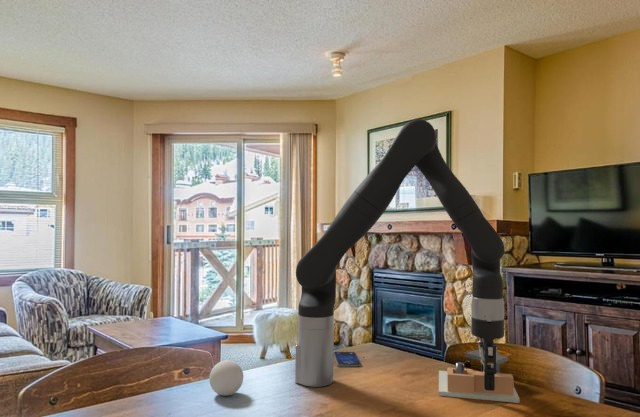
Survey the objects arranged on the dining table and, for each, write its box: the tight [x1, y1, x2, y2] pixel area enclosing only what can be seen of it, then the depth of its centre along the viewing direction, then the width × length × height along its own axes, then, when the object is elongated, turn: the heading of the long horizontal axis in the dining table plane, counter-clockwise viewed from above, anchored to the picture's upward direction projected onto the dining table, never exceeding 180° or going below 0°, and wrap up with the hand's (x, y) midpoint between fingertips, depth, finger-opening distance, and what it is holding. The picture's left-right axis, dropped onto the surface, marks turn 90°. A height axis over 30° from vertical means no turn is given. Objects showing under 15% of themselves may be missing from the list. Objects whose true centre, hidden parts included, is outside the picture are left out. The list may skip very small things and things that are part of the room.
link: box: [446, 367, 515, 395], centre depth 115 cm, size 15×6×4 cm, turn 76°
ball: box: [208, 359, 244, 397], centre depth 113 cm, size 8×8×8 cm
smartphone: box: [333, 351, 363, 368], centre depth 144 cm, size 7×1×15 cm
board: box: [438, 370, 520, 404], centre depth 120 cm, size 18×17×1 cm
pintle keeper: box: [455, 349, 509, 374], centre depth 121 cm, size 13×16×7 cm
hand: (487, 384), depth 114 cm, fingers open, 8 cm apart
